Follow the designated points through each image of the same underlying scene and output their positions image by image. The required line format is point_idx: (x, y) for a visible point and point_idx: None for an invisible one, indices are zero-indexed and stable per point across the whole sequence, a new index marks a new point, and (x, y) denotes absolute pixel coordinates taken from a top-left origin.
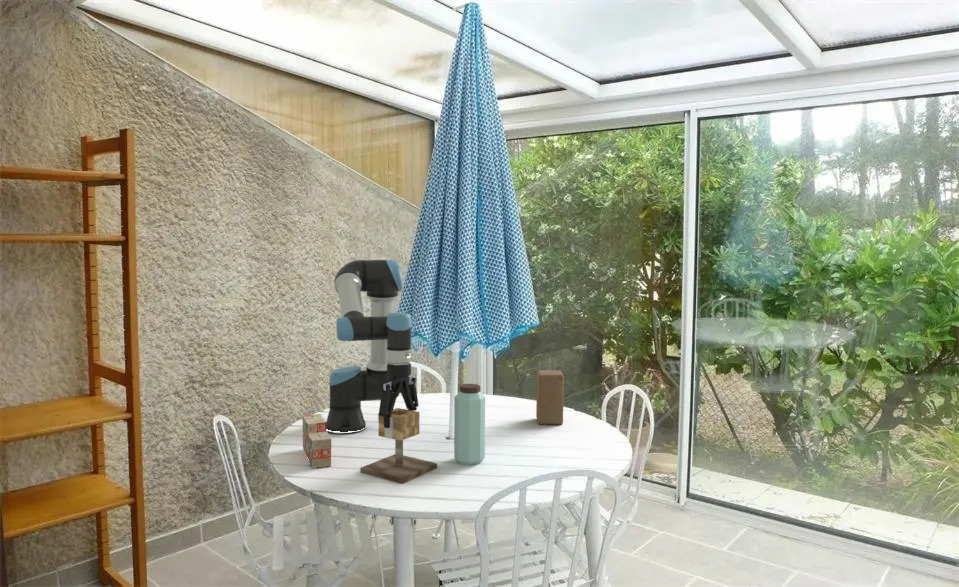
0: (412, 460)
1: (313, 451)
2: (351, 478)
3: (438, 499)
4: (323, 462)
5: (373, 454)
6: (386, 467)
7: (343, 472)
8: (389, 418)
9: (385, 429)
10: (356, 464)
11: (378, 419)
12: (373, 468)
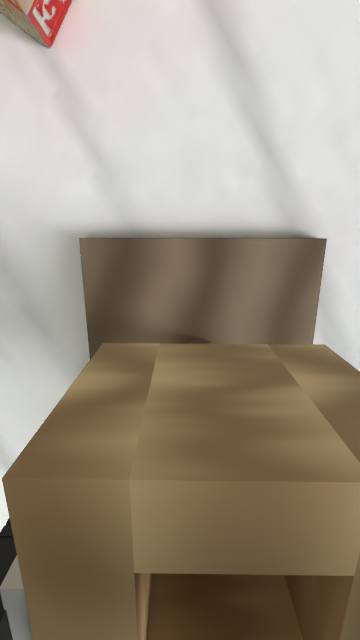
0: None
1: None
2: (17, 256)
3: None
4: (1, 4)
5: (313, 97)
6: (150, 328)
7: (40, 172)
8: (12, 637)
9: None
10: (150, 140)
11: (47, 418)
12: (108, 292)
